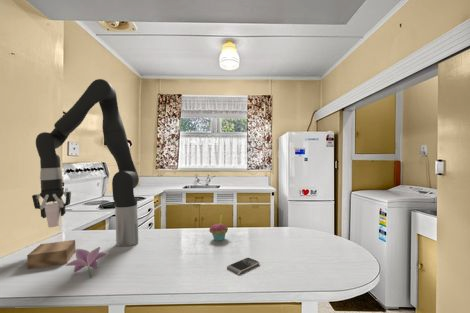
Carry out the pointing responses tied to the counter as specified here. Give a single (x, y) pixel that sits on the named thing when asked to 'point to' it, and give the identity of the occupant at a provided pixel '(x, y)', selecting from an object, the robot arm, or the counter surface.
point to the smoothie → (52, 214)
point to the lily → (86, 259)
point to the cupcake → (218, 230)
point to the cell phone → (242, 266)
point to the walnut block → (51, 254)
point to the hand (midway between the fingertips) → (53, 216)
